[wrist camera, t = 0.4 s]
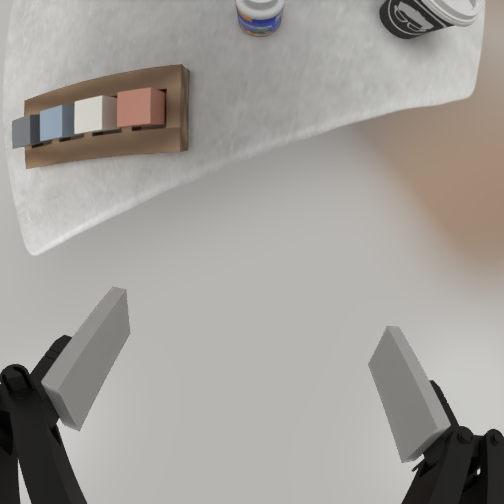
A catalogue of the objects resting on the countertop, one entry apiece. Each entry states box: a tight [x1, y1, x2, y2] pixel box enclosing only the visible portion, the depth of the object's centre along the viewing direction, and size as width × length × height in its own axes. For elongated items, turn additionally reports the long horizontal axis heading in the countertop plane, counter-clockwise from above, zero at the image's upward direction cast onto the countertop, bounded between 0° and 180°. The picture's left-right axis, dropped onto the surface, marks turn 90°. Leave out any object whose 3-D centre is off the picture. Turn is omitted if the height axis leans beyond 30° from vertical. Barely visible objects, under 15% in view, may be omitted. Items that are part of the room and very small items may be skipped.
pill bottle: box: [236, 0, 284, 36], centre depth 24 cm, size 5×5×10 cm
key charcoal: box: [12, 114, 52, 149], centre depth 29 cm, size 4×4×5 cm
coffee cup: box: [380, 0, 480, 39], centre depth 20 cm, size 10×10×15 cm
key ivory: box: [74, 95, 121, 134], centre depth 29 cm, size 4×4×5 cm
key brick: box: [117, 87, 165, 127], centre depth 28 cm, size 4×4×5 cm
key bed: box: [24, 64, 189, 169], centre depth 32 cm, size 11×26×4 cm, turn 89°
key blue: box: [40, 105, 84, 141], centre depth 29 cm, size 4×4×5 cm
